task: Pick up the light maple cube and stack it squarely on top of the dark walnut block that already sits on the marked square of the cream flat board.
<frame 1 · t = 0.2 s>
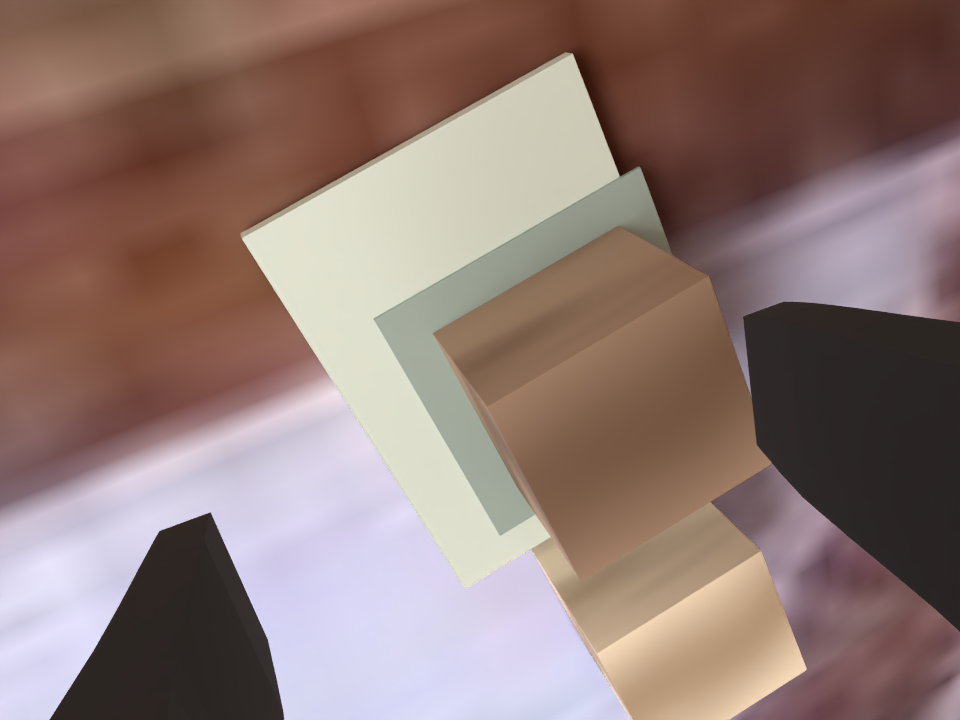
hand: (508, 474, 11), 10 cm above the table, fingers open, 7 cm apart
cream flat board: (507, 344, 22), on the table
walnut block: (565, 363, 22), resting on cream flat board
maple cube: (625, 556, 26), on the table
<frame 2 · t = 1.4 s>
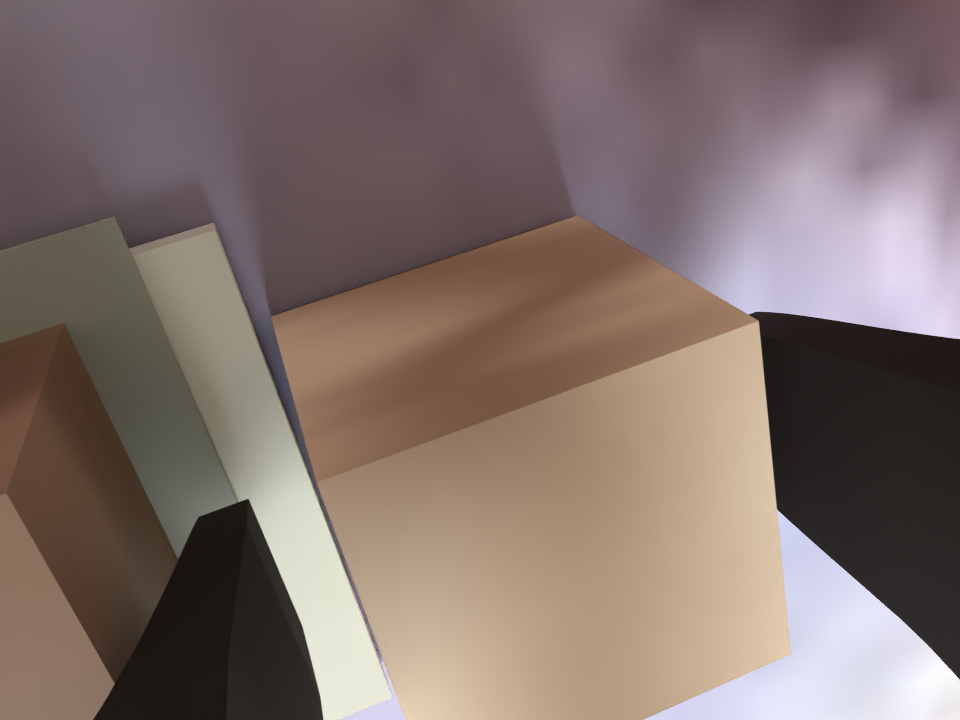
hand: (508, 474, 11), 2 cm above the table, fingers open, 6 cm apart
maple cube: (466, 402, 13), on the table
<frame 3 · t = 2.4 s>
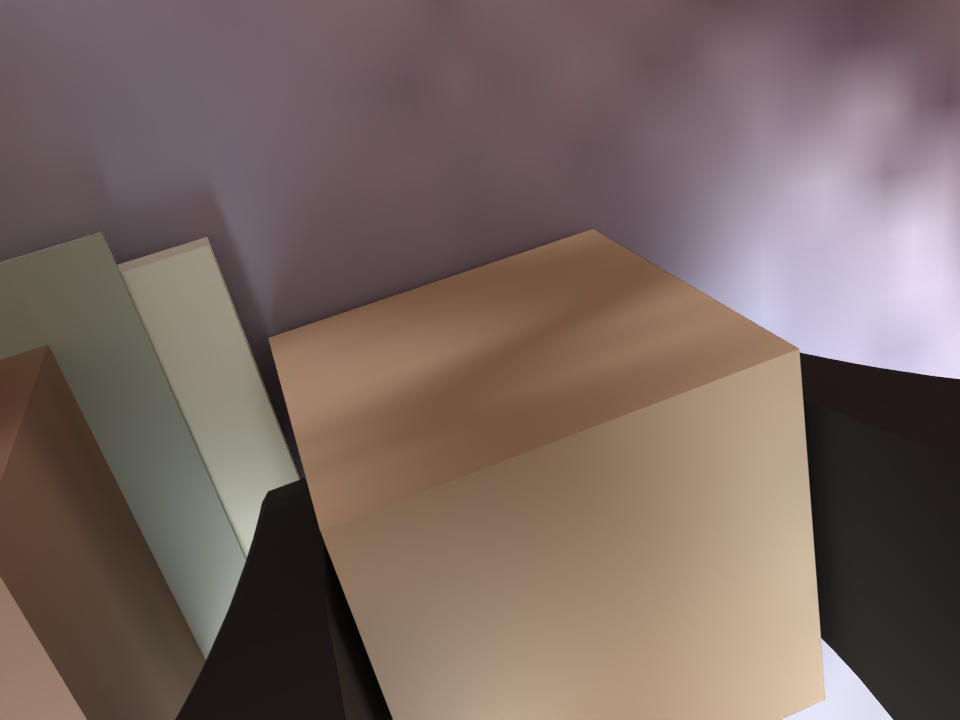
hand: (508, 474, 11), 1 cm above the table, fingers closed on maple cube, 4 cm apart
maple cube: (475, 426, 13), on the table, touching gripper
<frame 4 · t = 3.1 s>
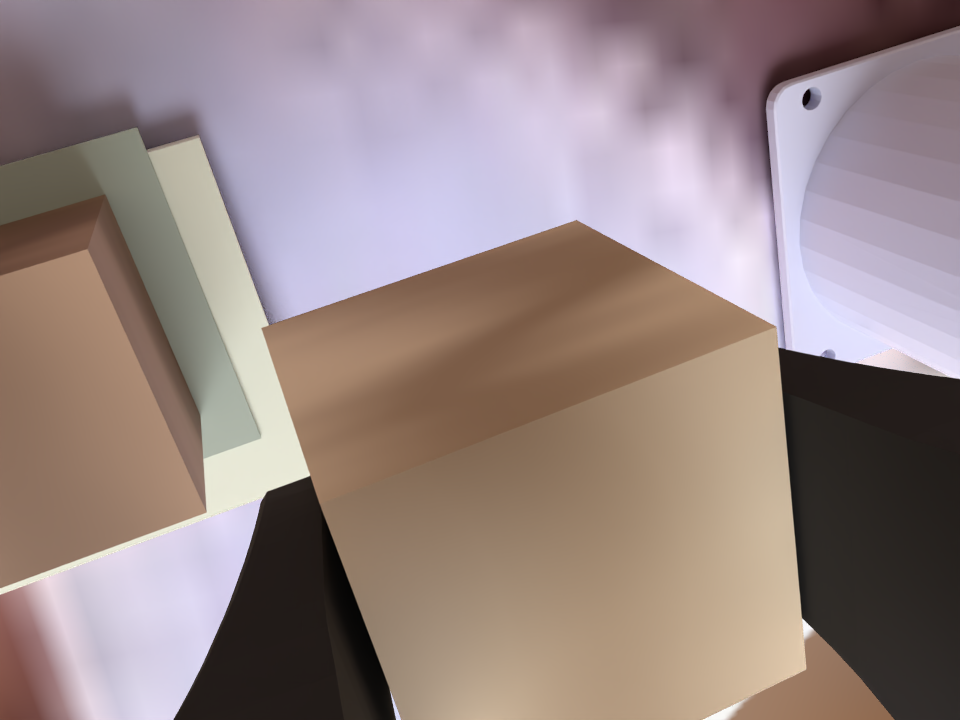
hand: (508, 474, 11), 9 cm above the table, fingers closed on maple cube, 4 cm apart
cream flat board: (5, 402, 18), on the table
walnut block: (30, 352, 18), resting on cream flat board
maple cube: (463, 414, 13), point 8 cm above the table, touching gripper
when the fingers open (7 cm above the table, at t = 4.4 s): maple cube stays where it is, resting on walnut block.
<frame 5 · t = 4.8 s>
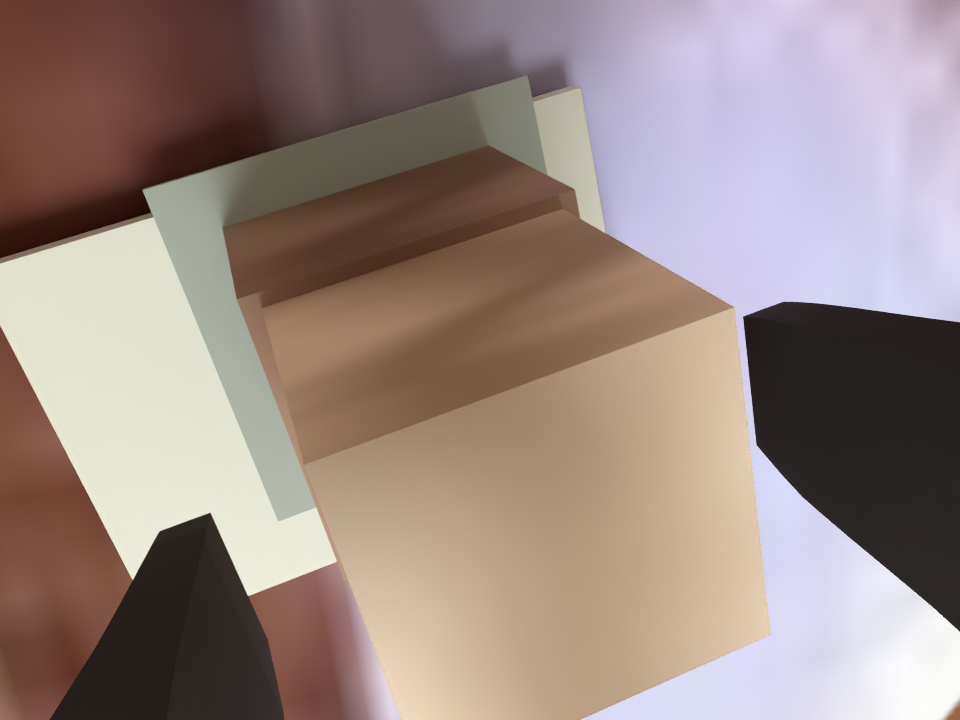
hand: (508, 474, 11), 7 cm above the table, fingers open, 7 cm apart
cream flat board: (356, 363, 18), on the table
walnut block: (396, 310, 17), resting on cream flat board, touching maple cube
maple cube: (454, 393, 14), point 4 cm above the table, touching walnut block
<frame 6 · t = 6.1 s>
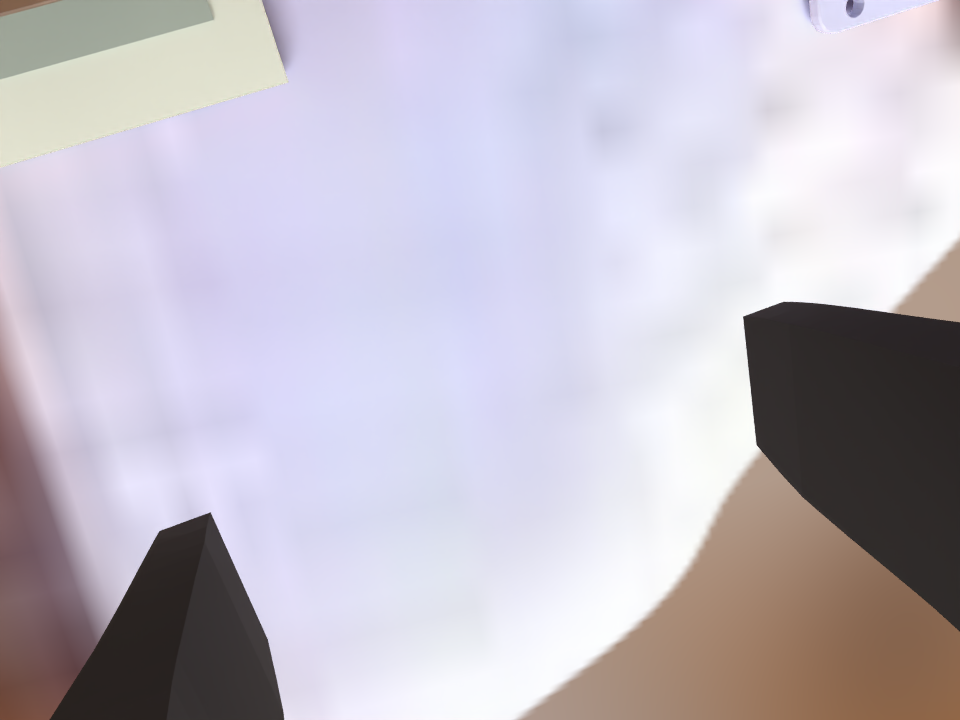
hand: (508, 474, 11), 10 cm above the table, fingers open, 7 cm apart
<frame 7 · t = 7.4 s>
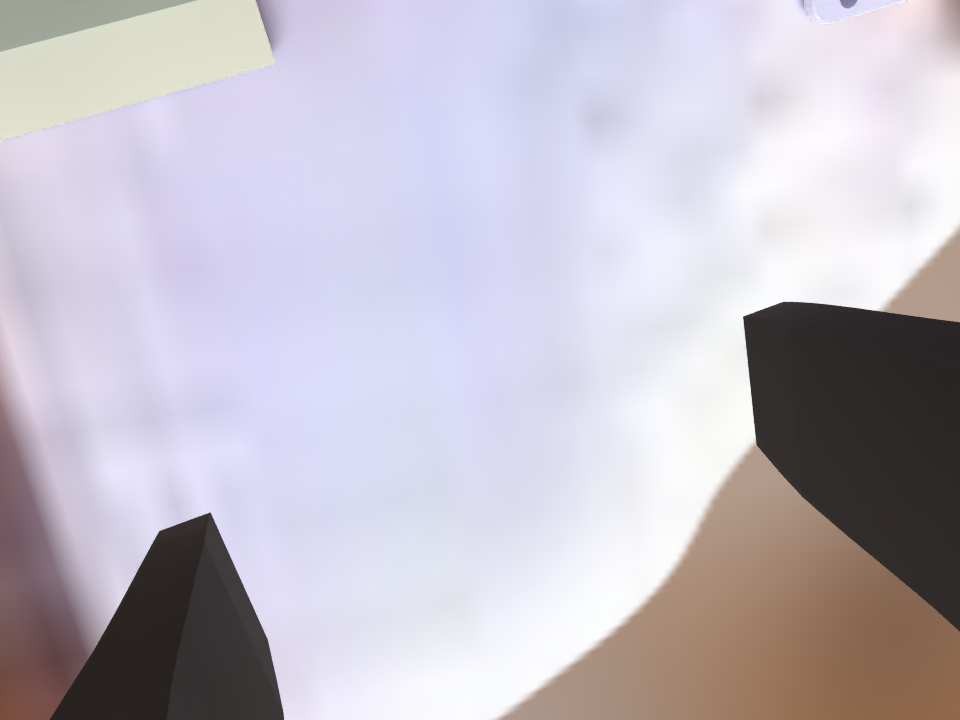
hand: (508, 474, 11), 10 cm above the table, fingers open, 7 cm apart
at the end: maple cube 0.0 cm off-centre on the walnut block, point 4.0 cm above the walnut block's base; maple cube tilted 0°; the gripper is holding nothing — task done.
